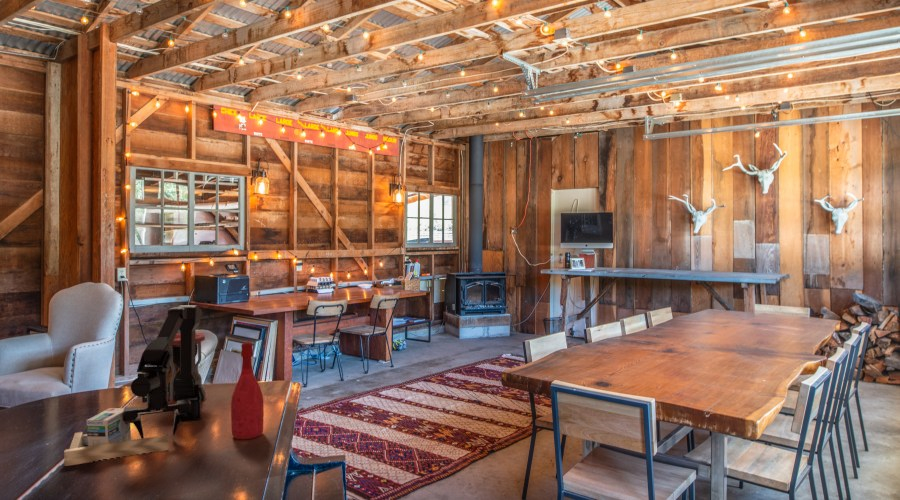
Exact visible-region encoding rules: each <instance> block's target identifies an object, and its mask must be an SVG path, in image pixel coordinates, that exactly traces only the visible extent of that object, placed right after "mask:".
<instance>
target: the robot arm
mask: <svg viewBox="0 0 900 500" xmlns="http://www.w3.org/2000/svg"><path fill="white" fill-rule="evenodd" d="M202 316H203V310H202V308H200V306H199V305H197V304H196V305H193V304H191V305H184V304H183V305H178V306H177V307H171V308H169V309H168V310H167V316H166V318H165V321H164V322H163V324H162V326H161V328H160V330H159V332H158V335H157V336H156V338H155V339H154V340H152V341H151V342H149V343H148V344H147V346H146V347H145V348H144V350H143V351H142V354H141V357H140V360H139V362H138V363H139V364H138V366H137V369H136V372H137V378H135V379H134V380H132V382H131V384H130V391H131V392H132V394H133V395H134V396H136V397H138V398H139V397H141V402H142V403H141V404H146V407H143V408H139V405H135V406H134V405H133V406H126V407H124V408H123V409H124V411H123V421H129V423H130V424H133V425H134V426H135V428H136V429H137V433H138V434H139V436H140V439H142V438H145V437H144V429H143V422H142V417H141V416H144V415H152V414H158V413H166V412H168V413H169V412H174V414H173V415H174V416H173V417H174V418H173V427H172V435H173V436H176V432H177V429H178V426H179V423H180V422H186V421H187V422H188V421H192V420H194V421H195V420H200V419H202V415H201V402H203V401H205V400H206V396H205V394H206V391H205V389H204V388H203V385H202V386H201V384H200V378H199V376H198V375H197V373H196V372H195V364H196V357H195V333H196V330H197V328H198V327H199V325H200V324H201V320H202ZM179 331H180V333H179V334H180V375H179V376H178V378H177V379H175V381H174V390H173V392H174V397H175V402H177V404H174V405H168V383H169V379H167V370H169V363H170V361H171V358H172V349H171V345H172V343H173V341H174V339H175V336H176V334H178V332H179ZM200 401H201V402H200Z"/></svg>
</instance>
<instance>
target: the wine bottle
mask: <svg viewBox="0 0 900 500" xmlns="http://www.w3.org/2000/svg"><path fill="white" fill-rule="evenodd" d="M253 355H254V353H253V343H252V342H249V341H248V342H247V341H245V342H243V343H241V354H240V357H241V358H242V364H241V365H242V366H241V372H240V375H239V378H238V380H237V382H236V384H235V386H234V390H233V392H232V394H231V395H232V396H231V399H230V401H231V402H230V420H231V425H230V427H231V435H232V437H233V438H234V439H236V440H251V439H254V438H255V439H256V438H258V437H259V436H261V435H262V434H263V431H264V413H265V412H264V396H263V391H262V390H261V386H260V384H259V382H258V380H257V378H256V376H255V374H254V369H253V366H252V363H253V362H252V357H253Z"/></svg>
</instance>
